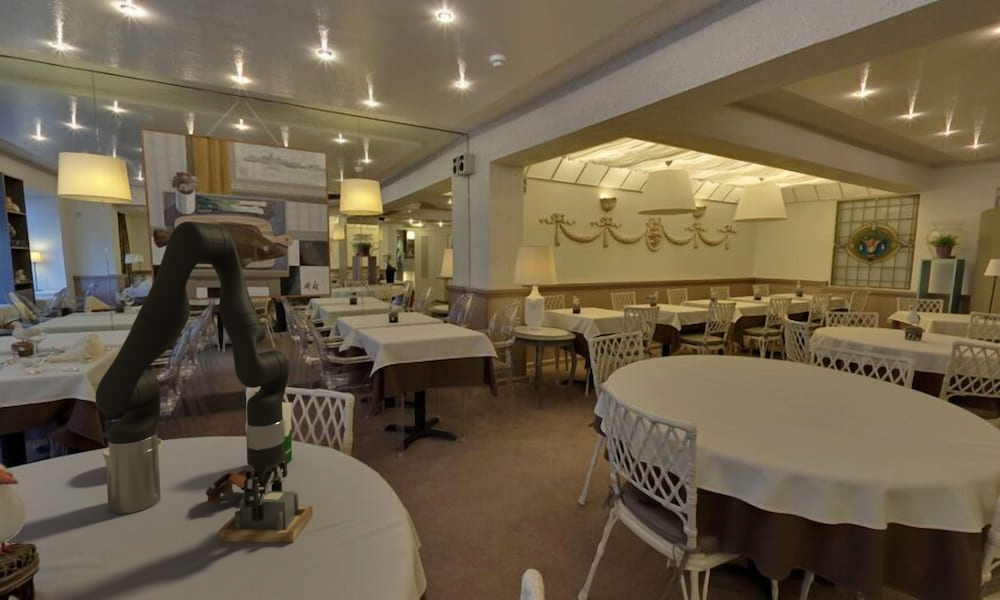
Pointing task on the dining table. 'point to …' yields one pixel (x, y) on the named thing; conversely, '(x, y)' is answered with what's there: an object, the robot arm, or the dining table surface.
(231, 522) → the pin tray
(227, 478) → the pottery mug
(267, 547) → the dining table surface
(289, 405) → the milk carton
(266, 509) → the block
